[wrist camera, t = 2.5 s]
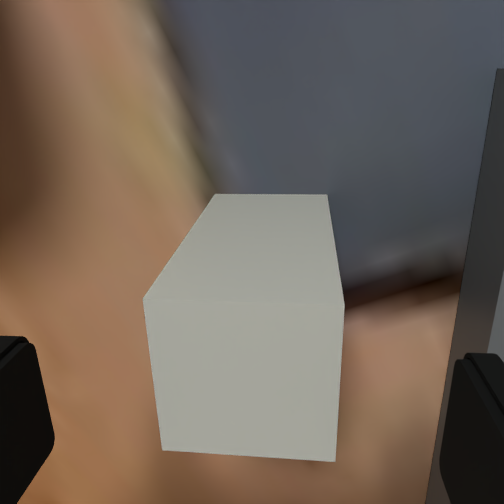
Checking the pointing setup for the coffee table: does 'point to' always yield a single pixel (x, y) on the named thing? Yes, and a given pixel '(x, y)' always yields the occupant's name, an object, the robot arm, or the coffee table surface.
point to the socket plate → (479, 275)
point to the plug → (250, 331)
